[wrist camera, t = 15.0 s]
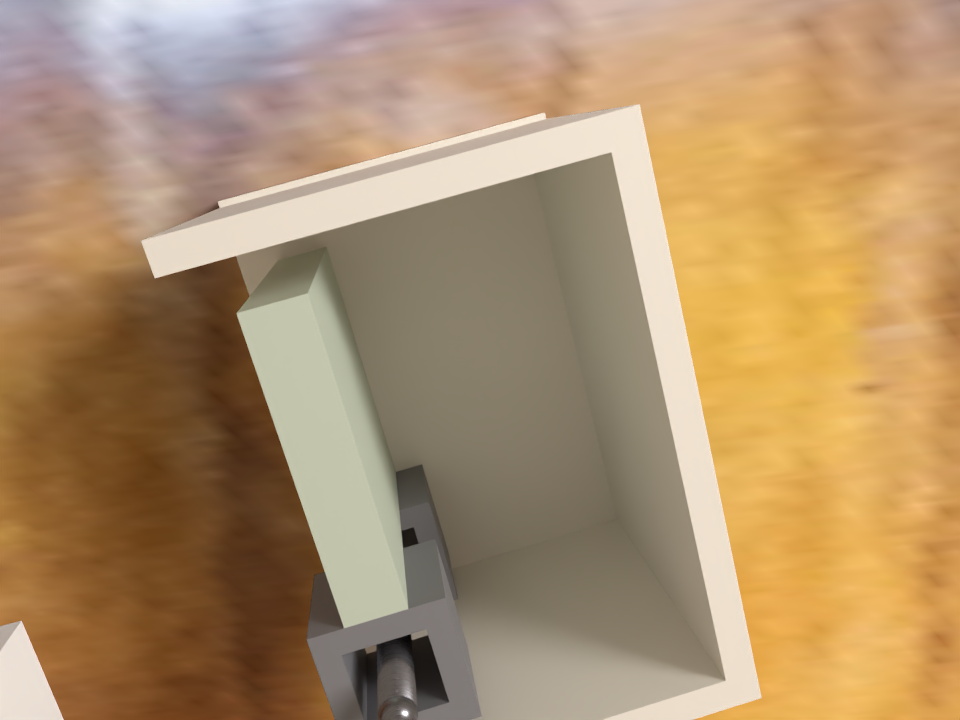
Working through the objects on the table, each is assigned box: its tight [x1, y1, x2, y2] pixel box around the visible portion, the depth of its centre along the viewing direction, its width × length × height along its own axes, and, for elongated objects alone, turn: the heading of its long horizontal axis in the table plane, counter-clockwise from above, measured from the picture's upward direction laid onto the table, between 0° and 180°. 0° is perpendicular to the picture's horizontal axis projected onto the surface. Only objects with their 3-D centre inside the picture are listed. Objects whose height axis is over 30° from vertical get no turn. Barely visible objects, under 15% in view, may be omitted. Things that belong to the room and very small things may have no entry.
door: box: [236, 247, 482, 720], centre depth 38 cm, size 17×5×14 cm, turn 15°
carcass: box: [141, 104, 761, 720], centre depth 38 cm, size 23×16×16 cm
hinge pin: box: [376, 531, 418, 720], centre depth 38 cm, size 1×1×17 cm
